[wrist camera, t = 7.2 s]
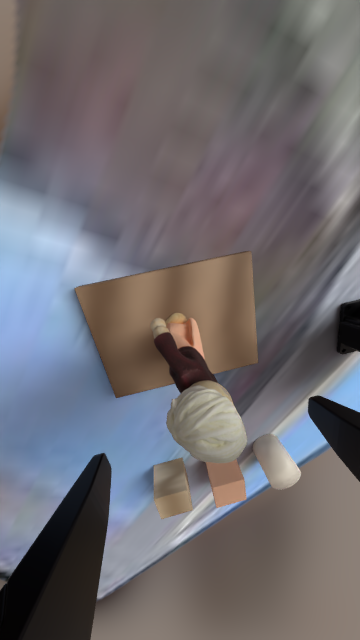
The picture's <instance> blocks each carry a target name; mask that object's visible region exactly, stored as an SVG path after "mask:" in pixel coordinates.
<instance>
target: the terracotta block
mask: <svg viewBox="0 0 360 640" xmlns="http://www.w3.org/2000/svg"><path fill="white" fill-rule="evenodd" d="M206 466H207V471H208V476H209V480H210V484H211V488H212V492H213V496H214V500H215V504H216V507H217V508H218V507H222V506H225V505H229V504H232V503H236V502H239V501H242V500H246V491H245V481H244V477H243V475H242V472H241V470H240V467H239V465H238V463H237V460H236V459H235V460H234V461H232V462H229V463H212V462H206Z"/></svg>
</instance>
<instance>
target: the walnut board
mask: <svg viewBox="0 0 360 640" xmlns="http://www.w3.org/2000/svg"><path fill="white" fill-rule="evenodd" d="M74 289H75V291H76V294H77V297H78V299H79V302H80V304H81V307H82V310H83V312H84V315H85V318H86V320H87V323H88V325H89V328H90V331H91V333H92V336H93V339H94V341H95V344H96V347H97V349H98V352H99V354H100V357H101V360H102V362H103V365H104V368H105V370H106V373H107V376H108V378H109V381H110V383H111V386H112V389H113V391H114V394H115V397H116V398H119V397H123V396H127V395H131V394H135V393H139V392H143V391H147V390H151V389H155V388H159V387H163V386H167V385H171V384H175V382H174V380H173V378H172V377H171V376H170V373H169V365H168V363H167V361H166V360H165V359H164V357H163V356H162V355H161V353H160V352H159V351H158V350H157V348H156V346H155V344H154V336H153V331H152V330H151V326H150V325H151V322H152V321H153V320H154V319H156V318H161V319H163V320H164V321H166V320H167V319H168V318H169V317H170V316H171V315H172V314H174V313H181V314H183V315H184V316H185V317H186V319H187V321H188V319H189V318H193V319H194V320H195V321H196V323H197V326H198V329H199V333H200V338H201V343H202V348H203V353H204V358H205V362H206V364H207V366H208V368H209V370H210V371H211V372H212V374H215V373H219V372H223V371H227V370H231V369H235V368H239V367H243V366H247V365H251V364H255V363H258V353H257V337H256V321H255V305H254V288H253V272H252V256H251V251H245V252H240V253H235V254H231V255H226V256H221V257H216V258H212V259H207V260H202V261H197V262H192V263H188V264H183V265H178V266H173V267H168V268H164V269H159V270H154V271H149V272H145V273H140V274H135V275H130V276H125V277H121V278H116V279H111V280H106V281H102V282H97V283H92V284H87V285H82V286H78V287H76V288H74Z"/></svg>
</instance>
